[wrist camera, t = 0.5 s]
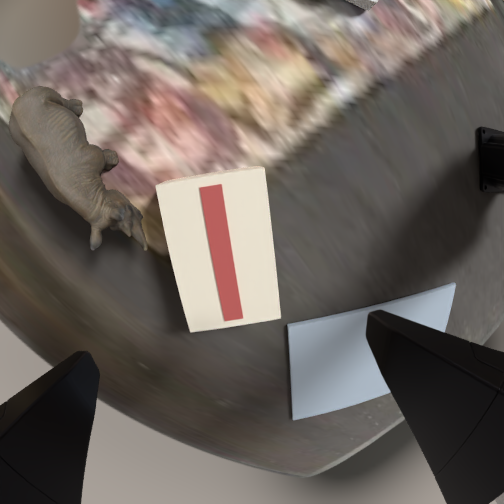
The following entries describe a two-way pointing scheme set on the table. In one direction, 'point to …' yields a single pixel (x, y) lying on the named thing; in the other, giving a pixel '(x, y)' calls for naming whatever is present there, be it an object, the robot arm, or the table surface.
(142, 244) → the rhino figurine
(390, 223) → the table surface
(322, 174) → the table surface
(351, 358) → the mat
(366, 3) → the file sorter
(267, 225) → the card box
